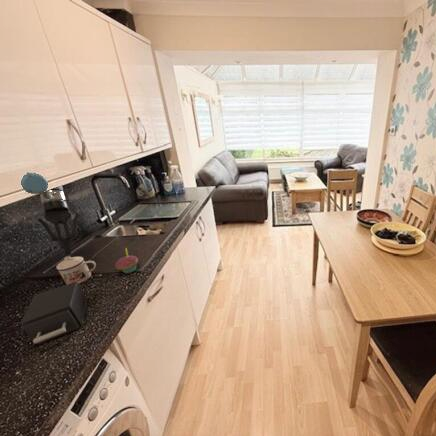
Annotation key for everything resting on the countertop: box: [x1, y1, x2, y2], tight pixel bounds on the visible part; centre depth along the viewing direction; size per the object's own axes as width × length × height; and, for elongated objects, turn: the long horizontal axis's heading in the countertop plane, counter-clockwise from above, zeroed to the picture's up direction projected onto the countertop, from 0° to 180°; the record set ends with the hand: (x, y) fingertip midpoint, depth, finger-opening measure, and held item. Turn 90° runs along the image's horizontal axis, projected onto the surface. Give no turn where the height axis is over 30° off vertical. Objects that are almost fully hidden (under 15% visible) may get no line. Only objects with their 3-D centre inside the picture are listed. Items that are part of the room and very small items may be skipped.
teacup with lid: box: [55, 255, 97, 285], centre depth 102 cm, size 12×9×12 cm
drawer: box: [22, 309, 80, 346], centre depth 78 cm, size 17×10×8 cm, turn 33°
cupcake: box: [114, 247, 139, 274], centre depth 105 cm, size 9×8×12 cm
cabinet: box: [19, 282, 88, 341], centre depth 81 cm, size 15×12×10 cm
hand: (68, 254), depth 98 cm, fingers closed
